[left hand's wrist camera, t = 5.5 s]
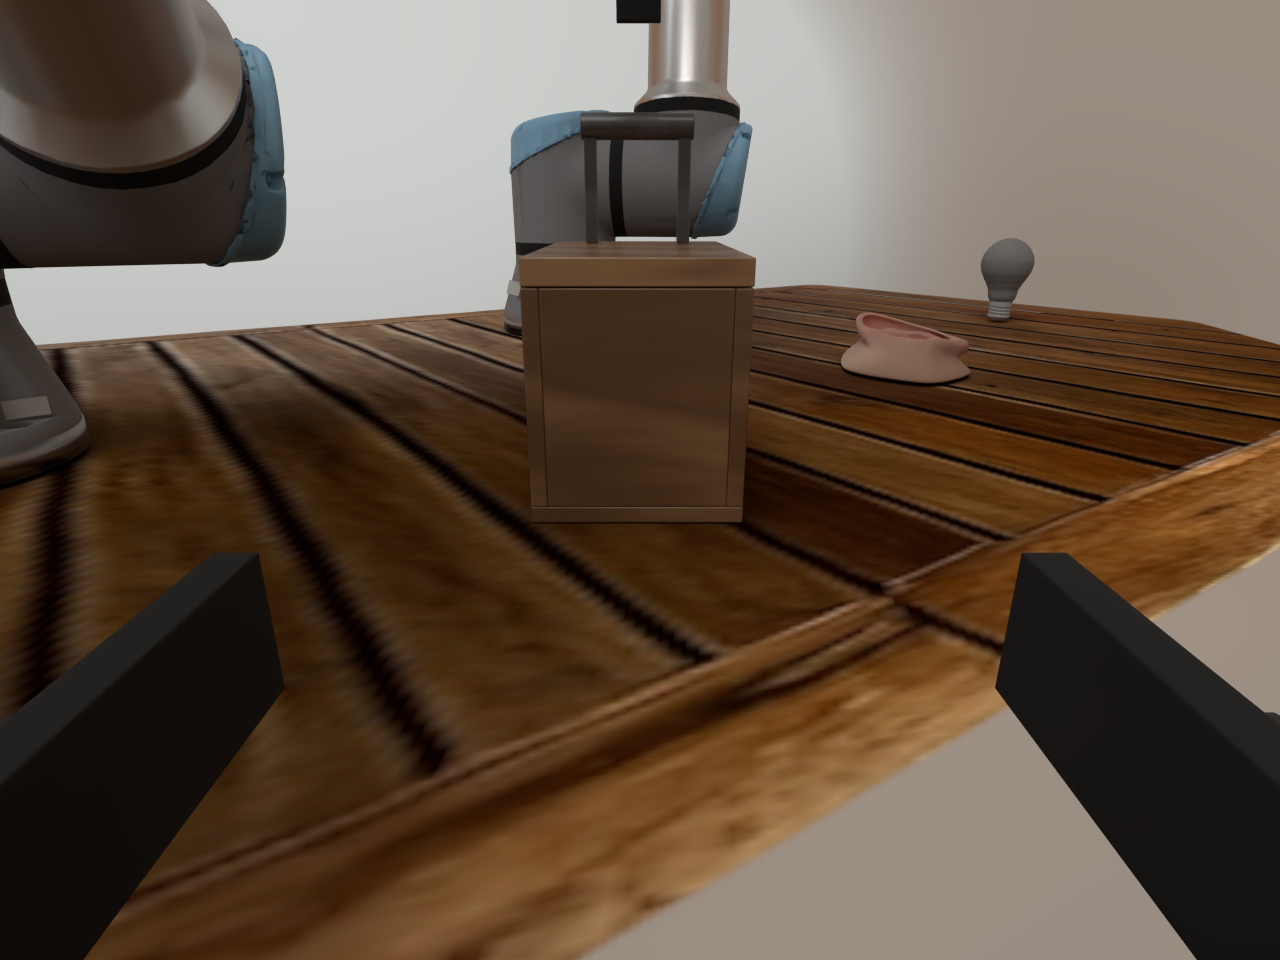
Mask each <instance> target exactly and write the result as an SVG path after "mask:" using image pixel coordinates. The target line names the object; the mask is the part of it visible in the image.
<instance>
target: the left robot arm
mask: <svg viewBox="0 0 1280 960" xmlns="http://www.w3.org/2000/svg"><path fill="white" fill-rule="evenodd" d="M283 175H284V147H283V136H282V126H281V117H280V109H279V102H278V95H277V89H276V84H275V78H274V74H273V70H272V66H271V63H270V61H269V59H268V57H267V55H266V54H265V53H264V52H263V51H261V50H260V49H259V48H258V47H256V46H254V45H250V44H245V43H243V42H242V41H240V40H238V39H237V38H235V39H233V38H232V36H231V34H230V32H229V30H228V27H227V25H226V24H225V23H224V21H223V20H222V18H221V17H220V15H219V14H218V12H217V11H216V10H215V9H214V8H213V7H212V6H211V5H210V4H209V2H208V1H207V0H0V485H2V484H6V483H10V482H13V481H16V480H20V479H23V478H26V477H29V476H32V475H35V474H38V473H40V472H43V471H46V470H48V469H51V468H53V467H56V466H58V465H60V464H63V463H65V462H67V461H69V460H71V459H72V458H74V457H76V456H77V455H79V454H80V453H82V452H83V451H84V450H85V449H86V448H87V447H88V446H89V444H90V437H89V434H88V430H87V426H86V423H85V419H84V415H83V414H82V413H81V411H80V409H79V407H78V405H77V403H76V402H75V400H74V399H73V398H72V396H71V395H70V393H69V392H68V390H67V389H66V388H65V386H64V385H63V383H62V382H61V381H60V379H59V378H58V376H57V375H56V374H55V372H54V371H53V369H52V368H51V366H50V365H49V364H48V362H47V361H46V359H45V358H44V357H43V355H42V354H41V352H40V351H39V349H38V348H37V347H36V345H35V344H34V342H33V341H32V340H31V338H30V337H29V335H28V334H27V333H26V331H25V330H24V328H23V327H22V325H21V324H20V322H19V320H18V318H17V316H16V314H15V310H14V307H13V304H12V301H11V297H10V294H9V291H8V287H7V284H6V280H5V275H4V269H11V268H36V267H77V266H118V265H160V264H201V263H205V264H207V265H209V266H214V267H222V266H225V265H226V264H228V263H233V262H245V261H258V260H265V259H267V258H269V257H271V256H273V255H274V254H275V253H277V251H278V250H279V249H280V247H281V245H282V243H283V240H284V236H285V228H286V187H285V181H284V178H283ZM284 688H285V686H284V681H283V675H282V670H281V665H280V660H279V655H278V650H277V645H276V640H275V635H274V630H273V625H272V620H271V615H270V610H269V605H268V600H267V595H266V590H265V585H264V580H263V574H262V569H261V564H260V559H259V554H258V553H213V554H212V555H210V556H209V557H208V558H207V559H205V560H204V561H203V562H202V563H201V564H199V565H198V566H197V567H196V568H194V569H193V570H192V571H191V572H189V573H188V574H187V575H186V576H184V577H183V578H182V579H181V580H179V581H178V582H177V583H176V584H174V585H173V586H172V587H171V588H170V589H168V590H167V591H166V592H165V593H163V594H162V595H161V596H160V597H158V598H157V599H156V600H155V601H153V602H152V603H151V604H150V605H148V606H147V607H146V608H145V609H143V610H142V611H141V612H140V613H138V614H137V615H136V616H135V617H134V618H132V619H131V620H130V621H129V622H127V623H126V624H125V625H124V626H122V627H121V628H120V629H119V630H117V631H116V632H115V633H114V634H112V635H111V636H110V637H109V638H107V639H106V640H105V641H104V642H103V643H101V644H100V645H99V646H98V647H96V648H95V649H94V650H93V651H91V652H90V653H89V654H88V655H86V656H85V657H84V658H83V659H81V660H80V661H79V662H78V663H76V664H75V665H74V666H73V667H72V668H70V669H69V670H68V671H67V672H65V673H64V674H63V675H62V676H60V677H59V678H58V679H57V680H55V681H54V682H53V683H52V684H50V685H49V686H48V687H47V688H45V689H44V690H43V691H42V692H41V693H39V694H38V695H37V696H36V697H34V698H33V699H32V700H31V701H29V702H28V703H27V704H26V705H24V706H23V707H22V708H21V709H19V710H18V711H17V712H16V713H14V714H13V715H6V716H4V717H2V718H1V719H0V960H83V959H84V958H85V957H86V955H87V954H88V953H89V951H90V950H91V949H92V947H93V946H94V944H95V943H96V942H97V940H98V939H99V938H100V936H101V935H102V934H103V932H104V931H105V930H106V928H107V927H108V926H109V924H110V923H111V922H112V920H113V919H114V918H115V916H116V915H117V913H118V912H119V911H120V909H121V908H122V907H123V905H124V904H125V903H126V901H127V900H128V899H129V897H130V896H131V895H132V893H133V892H134V891H135V889H136V888H137V887H138V885H139V884H140V882H141V881H142V880H143V878H144V877H145V876H146V874H147V873H148V872H149V870H150V869H151V868H152V866H153V865H154V864H155V862H156V861H157V860H158V858H159V857H160V856H161V854H162V853H163V851H164V850H165V849H166V847H167V846H168V845H169V843H170V842H171V841H172V839H173V838H174V837H175V835H176V834H177V833H178V831H179V830H180V829H181V827H182V826H183V825H184V823H185V822H186V820H187V819H188V818H189V816H190V815H191V814H192V812H193V811H194V810H195V808H196V807H197V806H198V804H199V803H200V802H201V800H202V799H203V798H204V796H205V795H206V794H207V792H208V791H209V789H210V788H211V787H212V785H213V784H214V783H215V781H216V780H217V779H218V777H219V776H220V775H221V773H222V772H223V771H224V769H225V768H226V767H227V765H228V764H229V763H230V761H231V760H232V758H233V757H234V756H235V754H236V753H237V752H238V750H239V749H240V748H241V746H242V745H243V744H244V742H245V741H246V740H247V738H248V737H249V736H250V734H251V733H252V732H253V730H254V729H255V727H256V726H257V725H258V723H259V722H260V721H261V719H262V718H263V717H264V715H265V714H266V713H267V711H268V710H269V709H270V707H271V706H272V705H273V703H274V702H275V701H276V699H277V698H278V696H279V695H280V694H281V692H282V691H283V690H284ZM995 688H996V690H997V691H998V692H999V694H1000V695H1001V696H1002V698H1003V699H1004V701H1005V702H1006V703H1007V705H1008V706H1009V707H1010V709H1011V710H1012V711H1013V713H1014V714H1015V715H1016V717H1017V718H1018V719H1019V721H1020V722H1021V723H1022V725H1023V726H1024V727H1025V729H1026V730H1027V731H1028V733H1029V734H1030V736H1031V737H1032V738H1033V740H1034V741H1035V742H1036V744H1037V745H1038V746H1039V748H1040V749H1041V750H1042V752H1043V753H1044V754H1045V756H1046V757H1047V758H1048V760H1049V761H1050V762H1051V764H1052V765H1053V767H1054V768H1055V769H1056V771H1057V772H1058V773H1059V775H1060V776H1061V777H1062V779H1063V780H1064V781H1065V783H1066V784H1067V785H1068V787H1069V788H1070V789H1071V791H1072V792H1073V793H1074V795H1075V796H1076V798H1077V799H1078V800H1079V802H1080V803H1081V804H1082V806H1083V807H1084V808H1085V810H1086V811H1087V812H1088V814H1089V815H1090V816H1091V818H1092V819H1093V820H1094V822H1095V823H1096V824H1097V826H1098V827H1099V829H1100V830H1101V831H1102V833H1103V834H1104V835H1105V837H1106V838H1107V839H1108V841H1109V842H1110V843H1111V845H1112V846H1113V847H1114V849H1115V850H1116V851H1117V853H1118V854H1119V855H1120V857H1121V858H1122V860H1123V861H1124V862H1125V864H1126V865H1127V866H1128V868H1129V869H1130V870H1131V872H1132V873H1133V874H1134V876H1135V877H1136V878H1137V880H1138V881H1139V882H1140V884H1141V885H1142V887H1143V888H1144V889H1145V891H1146V892H1147V893H1148V895H1149V896H1150V897H1151V899H1152V900H1153V901H1154V903H1155V904H1156V905H1157V907H1158V908H1159V909H1160V911H1161V912H1162V913H1163V915H1164V916H1165V918H1166V919H1167V920H1168V922H1169V923H1170V924H1171V926H1172V927H1173V928H1174V930H1175V931H1176V932H1177V934H1178V935H1179V936H1180V938H1181V939H1182V940H1183V942H1184V943H1185V944H1186V946H1187V947H1188V949H1189V950H1190V951H1191V953H1192V954H1193V955H1194V957H1195V958H1196V959H1197V960H1280V715H1278V714H1276V713H1264V712H1263V711H1262V710H1260V709H1259V708H1258V707H1257V706H1256V705H1254V704H1253V703H1252V702H1251V701H1249V700H1248V699H1247V698H1246V697H1244V696H1243V695H1242V694H1241V693H1239V692H1238V691H1237V690H1236V689H1234V688H1233V687H1232V686H1231V685H1230V684H1228V683H1227V682H1226V681H1225V680H1223V679H1222V678H1221V677H1220V676H1218V675H1217V674H1216V673H1215V672H1213V671H1212V670H1211V669H1210V668H1208V667H1207V666H1206V665H1205V664H1204V663H1202V662H1201V661H1200V660H1199V659H1197V658H1196V657H1195V656H1194V655H1192V654H1191V653H1190V652H1189V651H1187V650H1186V649H1185V648H1184V647H1182V646H1181V645H1180V644H1179V643H1177V642H1176V641H1175V640H1174V639H1172V638H1171V637H1170V636H1169V635H1168V634H1166V633H1165V632H1164V631H1163V630H1161V629H1160V628H1159V627H1158V626H1156V625H1155V624H1154V623H1153V622H1151V621H1150V620H1149V619H1148V618H1146V617H1145V616H1144V615H1143V614H1142V613H1140V612H1139V611H1138V610H1137V609H1135V608H1134V607H1133V606H1132V605H1130V604H1129V603H1128V602H1127V601H1125V600H1124V599H1123V598H1122V597H1120V596H1119V595H1118V594H1117V593H1115V592H1114V591H1113V590H1112V589H1110V588H1109V587H1108V586H1107V585H1106V584H1104V583H1103V582H1102V581H1101V580H1099V579H1098V578H1097V577H1096V576H1094V575H1093V574H1092V573H1091V572H1089V571H1088V570H1087V569H1086V568H1084V567H1083V566H1082V565H1081V564H1079V563H1078V562H1077V561H1076V560H1075V559H1073V558H1072V557H1071V556H1070V555H1068V554H1067V553H1022V554H1021V559H1020V564H1019V569H1018V574H1017V580H1016V585H1015V590H1014V595H1013V600H1012V605H1011V610H1010V615H1009V620H1008V625H1007V630H1006V635H1005V640H1004V645H1003V650H1002V655H1001V660H1000V665H999V670H998V675H997V681H996V686H995Z"/></svg>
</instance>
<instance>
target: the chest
mask: <svg viewBox="0 0 1280 960" xmlns="http://www.w3.org/2000/svg"><path fill="white" fill-rule="evenodd" d="M520 304H521V322H522V341H523V359H524V377H525V396H526V414H527V433H528V451H529V469H530V488H531V505H532V522H742V515H743V507H742V506H743V495H744V476H745V457H746V438H747V419H748V400H749V381H750V361H751V342H752V323H753V304H754V288H752V287H522V288H520Z"/></svg>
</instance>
